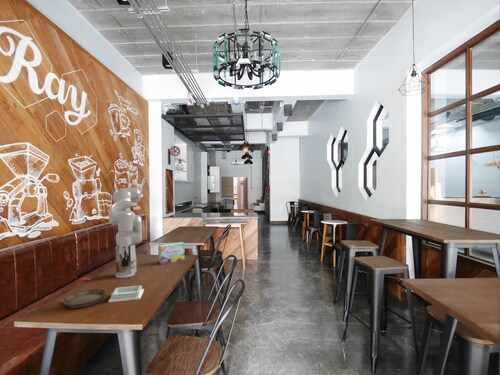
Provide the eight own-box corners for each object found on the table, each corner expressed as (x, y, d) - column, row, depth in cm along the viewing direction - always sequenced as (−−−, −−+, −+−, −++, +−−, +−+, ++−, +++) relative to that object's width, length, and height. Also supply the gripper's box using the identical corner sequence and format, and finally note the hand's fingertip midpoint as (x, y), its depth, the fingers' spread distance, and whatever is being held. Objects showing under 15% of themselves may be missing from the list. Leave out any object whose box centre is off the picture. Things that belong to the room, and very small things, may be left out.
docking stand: (115, 293, 159) (115, 287, 159) (143, 290, 162) (143, 284, 162) (108, 302, 146) (108, 296, 146) (139, 299, 150) (139, 292, 150)
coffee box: (137, 271, 157) (136, 243, 157) (131, 274, 150) (130, 245, 151) (122, 271, 158) (121, 243, 158) (115, 274, 151) (115, 246, 151)
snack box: (160, 265, 217) (160, 246, 217) (158, 263, 221) (157, 245, 221) (184, 260, 231) (184, 242, 231) (181, 258, 235) (181, 241, 235)
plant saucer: (52, 309, 140) (52, 303, 140) (82, 293, 160) (82, 288, 160) (88, 310, 137) (88, 304, 137) (114, 294, 158) (114, 289, 158)
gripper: (122, 231, 162) (123, 261, 162) (114, 236, 145) (115, 269, 145) (135, 231, 164) (136, 260, 163) (129, 235, 147) (130, 268, 146)
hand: (126, 264), depth 154 cm, fingers closed on coffee box, 7 cm apart
